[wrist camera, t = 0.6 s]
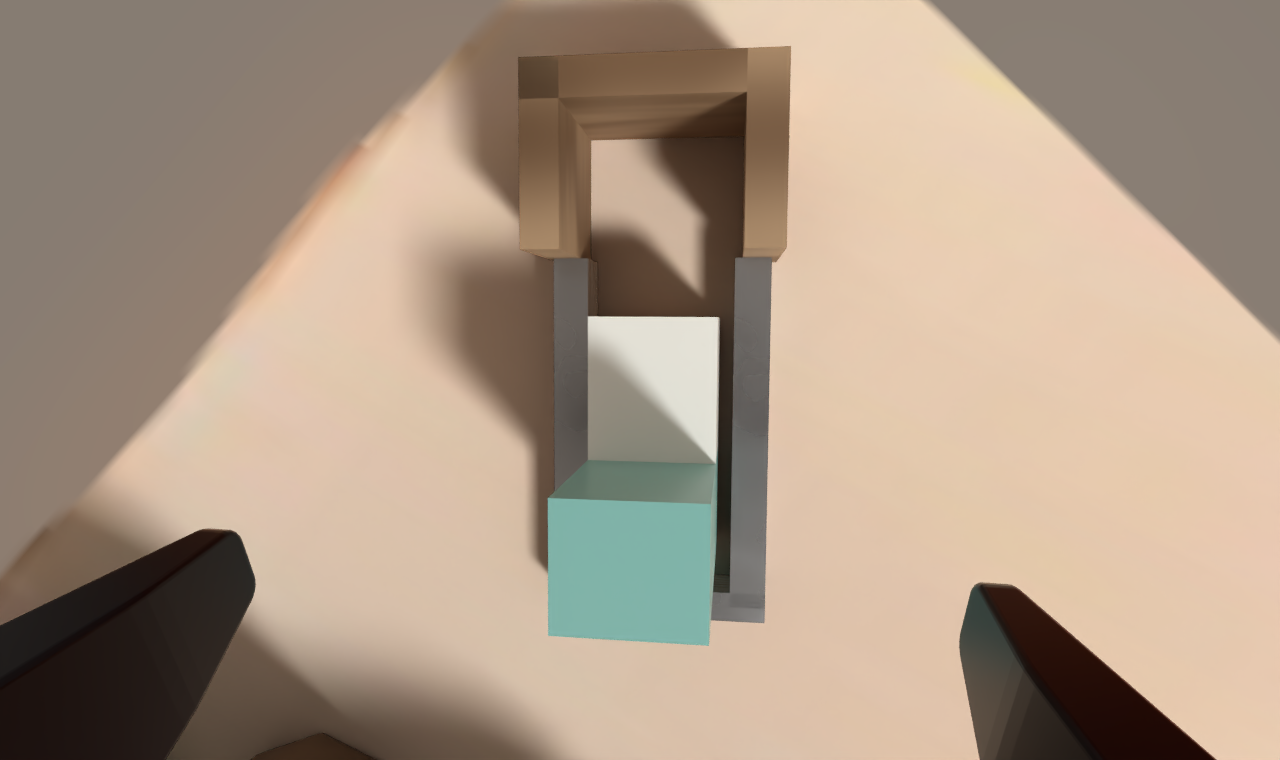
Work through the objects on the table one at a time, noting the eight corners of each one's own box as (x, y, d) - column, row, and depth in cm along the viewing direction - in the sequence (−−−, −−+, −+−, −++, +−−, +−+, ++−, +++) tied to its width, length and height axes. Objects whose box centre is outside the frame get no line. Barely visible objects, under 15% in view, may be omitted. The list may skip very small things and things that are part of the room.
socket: (776, 261, 26) (786, 247, 21) (559, 263, 27) (519, 249, 22) (779, 100, 25) (790, 46, 20) (558, 107, 26) (518, 57, 21)
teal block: (716, 537, 27) (709, 645, 18) (609, 532, 27) (548, 635, 18) (720, 317, 26) (713, 315, 17) (609, 317, 26) (547, 314, 18)
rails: (762, 603, 27) (764, 623, 25) (566, 592, 28) (554, 611, 26) (768, 262, 26) (771, 257, 24) (565, 262, 27) (553, 258, 25)
